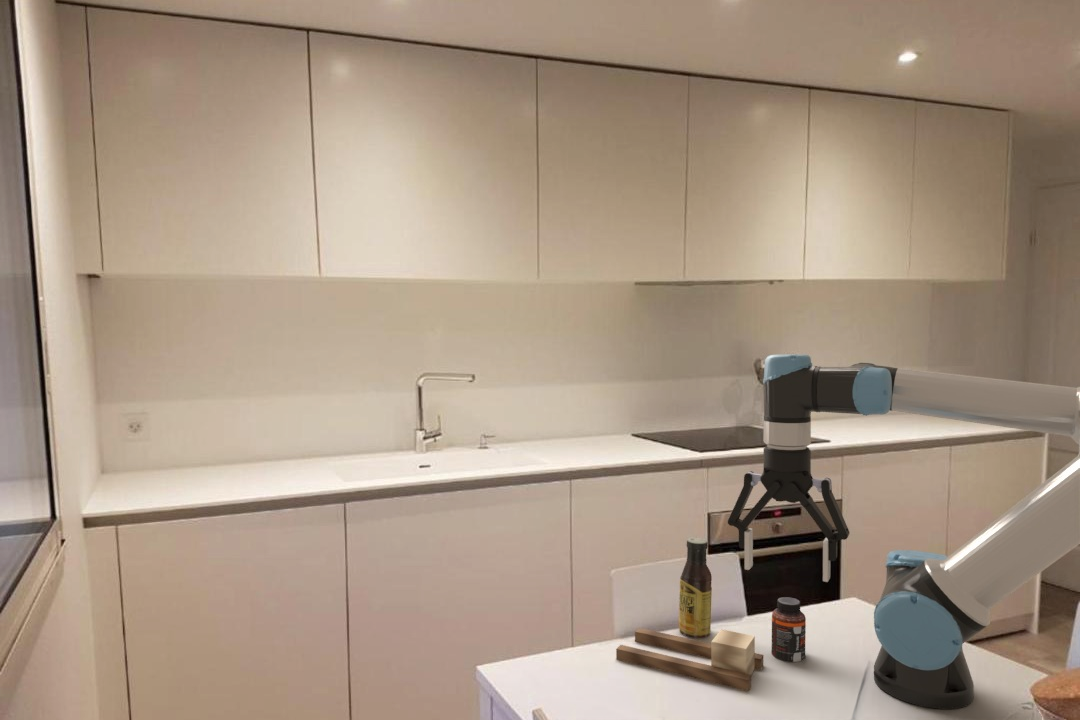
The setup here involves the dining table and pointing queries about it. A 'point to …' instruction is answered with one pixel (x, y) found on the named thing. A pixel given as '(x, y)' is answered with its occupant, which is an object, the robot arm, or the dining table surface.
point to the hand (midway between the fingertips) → (786, 573)
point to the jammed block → (733, 651)
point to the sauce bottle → (695, 591)
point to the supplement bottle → (788, 631)
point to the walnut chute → (682, 665)
